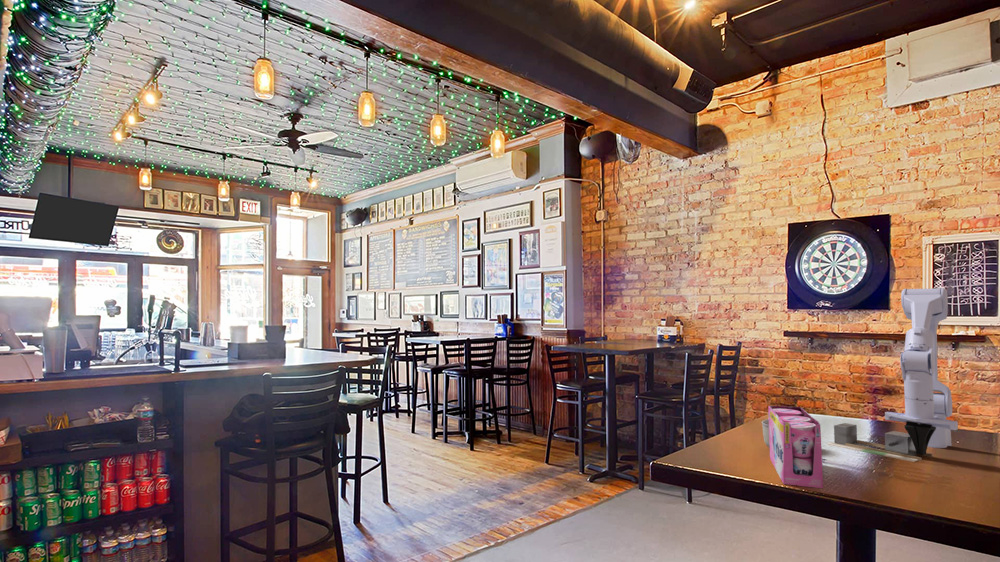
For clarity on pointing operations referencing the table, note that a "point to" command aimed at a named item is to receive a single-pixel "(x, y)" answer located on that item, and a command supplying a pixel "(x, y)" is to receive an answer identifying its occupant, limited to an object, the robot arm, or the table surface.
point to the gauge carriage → (899, 443)
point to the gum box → (795, 446)
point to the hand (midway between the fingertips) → (921, 454)
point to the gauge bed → (865, 443)
